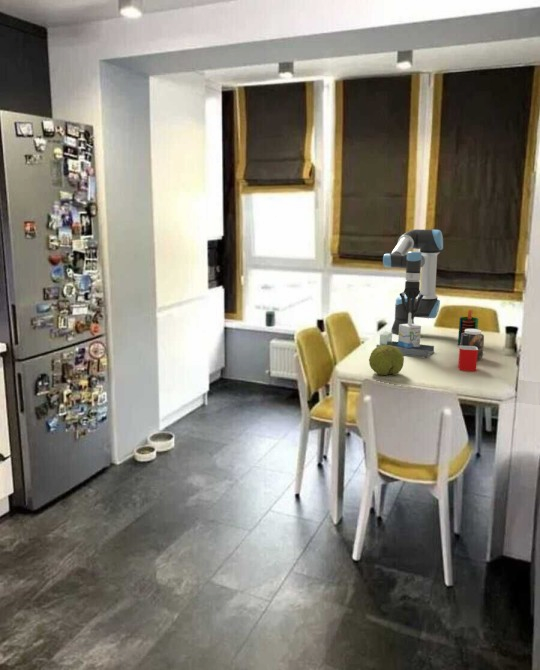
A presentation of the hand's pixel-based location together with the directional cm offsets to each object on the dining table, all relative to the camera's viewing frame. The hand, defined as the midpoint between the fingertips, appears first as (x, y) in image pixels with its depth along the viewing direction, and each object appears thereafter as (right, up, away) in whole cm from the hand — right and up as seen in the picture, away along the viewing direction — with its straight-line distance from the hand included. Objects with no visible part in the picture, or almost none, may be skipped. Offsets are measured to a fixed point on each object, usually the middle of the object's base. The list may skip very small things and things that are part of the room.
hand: (409, 324), depth 310 cm
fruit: (-21, -24, -38) cm, 50 cm away
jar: (+30, -18, -9) cm, 36 cm away
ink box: (0, -12, +3) cm, 12 cm away
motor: (+38, -12, +22) cm, 45 cm away
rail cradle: (-2, -15, +4) cm, 16 cm away
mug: (+21, -22, -27) cm, 41 cm away
